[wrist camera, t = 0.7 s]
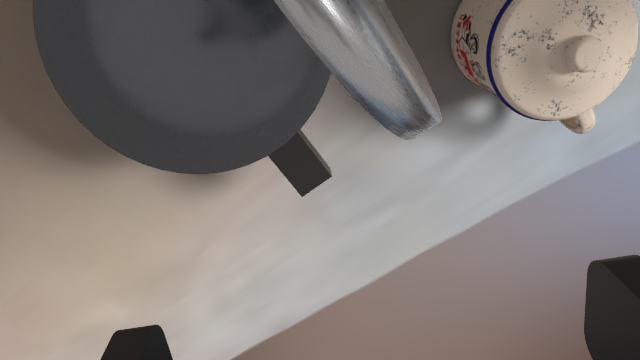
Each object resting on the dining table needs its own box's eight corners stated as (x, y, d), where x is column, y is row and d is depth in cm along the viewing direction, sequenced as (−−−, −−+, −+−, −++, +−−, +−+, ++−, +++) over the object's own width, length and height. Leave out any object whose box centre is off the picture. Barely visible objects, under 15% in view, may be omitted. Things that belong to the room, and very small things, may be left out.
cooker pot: (184, -225, 32) (144, -305, 23) (394, 86, 40) (427, 122, 31) (1, -58, 35) (-102, -68, 25) (232, 202, 43) (218, 266, 34)
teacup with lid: (423, 15, 38) (478, 33, 27) (534, -61, 37) (638, -74, 26) (496, 142, 42) (569, 201, 32) (598, 78, 41) (711, 117, 30)
